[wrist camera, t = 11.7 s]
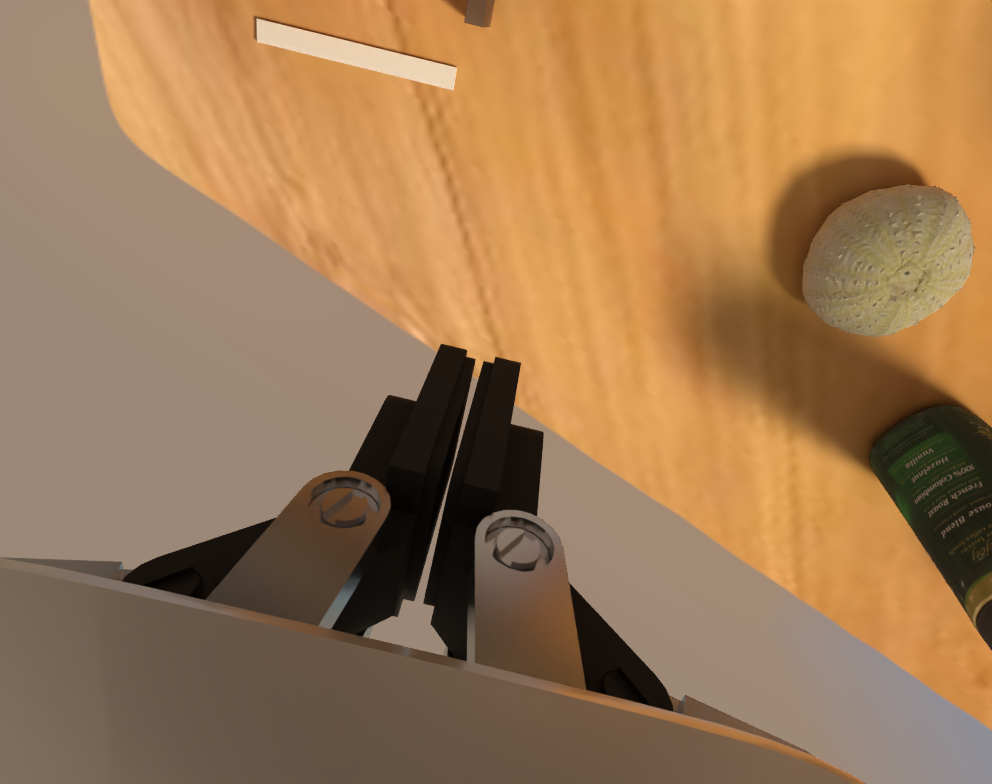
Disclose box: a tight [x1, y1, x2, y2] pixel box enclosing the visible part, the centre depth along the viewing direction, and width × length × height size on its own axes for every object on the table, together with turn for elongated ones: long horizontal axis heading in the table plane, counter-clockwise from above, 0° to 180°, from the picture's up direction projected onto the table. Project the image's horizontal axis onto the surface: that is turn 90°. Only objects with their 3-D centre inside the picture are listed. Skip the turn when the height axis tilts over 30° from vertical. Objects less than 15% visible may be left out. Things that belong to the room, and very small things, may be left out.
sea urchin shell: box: [802, 184, 975, 337], centre depth 36 cm, size 9×8×8 cm
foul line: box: [257, 19, 457, 90], centre depth 35 cm, size 1×12×1 cm, turn 79°
